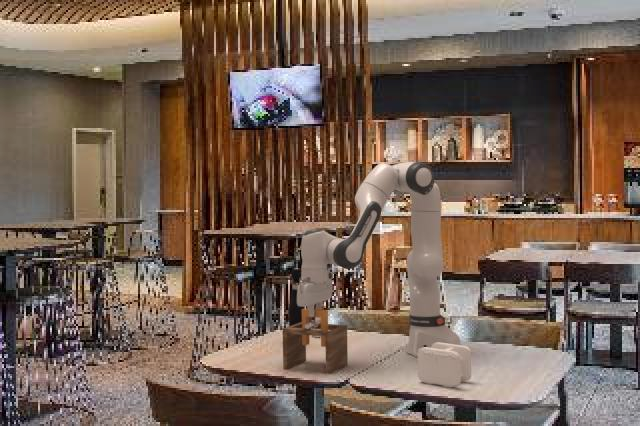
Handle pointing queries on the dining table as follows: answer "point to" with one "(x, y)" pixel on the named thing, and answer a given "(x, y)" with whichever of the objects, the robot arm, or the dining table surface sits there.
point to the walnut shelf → (333, 338)
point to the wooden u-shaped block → (324, 324)
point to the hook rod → (312, 324)
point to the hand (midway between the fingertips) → (315, 315)
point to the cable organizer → (444, 364)
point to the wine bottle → (295, 299)
